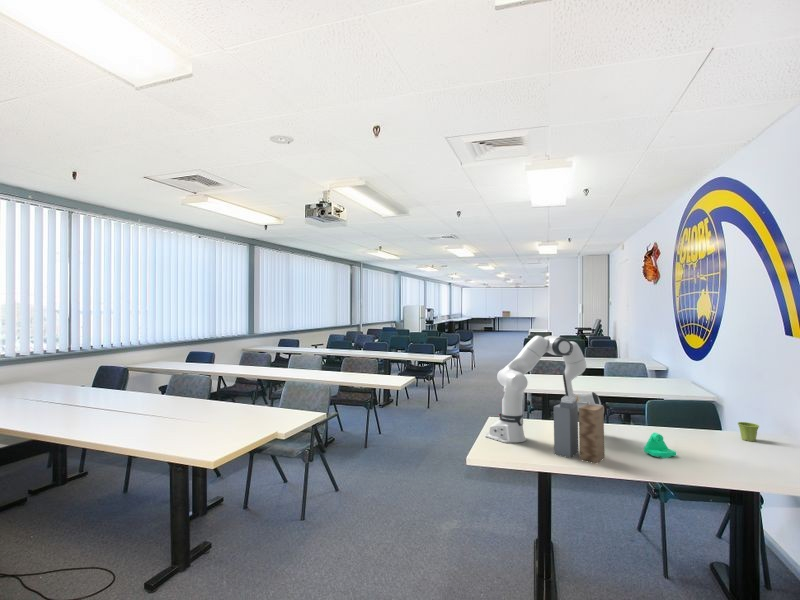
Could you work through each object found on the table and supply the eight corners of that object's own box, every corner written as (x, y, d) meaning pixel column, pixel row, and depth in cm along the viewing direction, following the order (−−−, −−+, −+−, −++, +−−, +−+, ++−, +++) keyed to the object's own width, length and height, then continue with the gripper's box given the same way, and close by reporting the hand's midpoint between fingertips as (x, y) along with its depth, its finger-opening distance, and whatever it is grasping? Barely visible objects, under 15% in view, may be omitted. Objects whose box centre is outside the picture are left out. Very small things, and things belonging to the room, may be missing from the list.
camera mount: (654, 458, 206) (654, 437, 206) (644, 453, 214) (643, 433, 214) (677, 457, 207) (676, 436, 208) (666, 452, 215) (665, 432, 215)
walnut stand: (579, 460, 205) (578, 408, 205) (587, 454, 213) (586, 404, 213) (597, 463, 199) (596, 410, 200) (604, 457, 207) (603, 406, 208)
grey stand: (554, 454, 213) (553, 406, 214) (562, 448, 221) (562, 402, 222) (570, 457, 208) (569, 408, 208) (578, 452, 216) (577, 405, 216)
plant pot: (753, 438, 237) (753, 422, 238) (763, 443, 228) (763, 427, 228) (734, 437, 240) (734, 421, 240) (743, 442, 231) (743, 426, 231)
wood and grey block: (560, 407, 211) (559, 398, 212) (569, 400, 227) (569, 392, 228) (572, 408, 208) (572, 399, 208) (581, 401, 224) (581, 393, 224)
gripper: (569, 402, 245) (561, 394, 237) (607, 407, 232) (599, 398, 223) (567, 413, 243) (559, 405, 234) (605, 419, 229) (597, 410, 221)
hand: (579, 402), depth 229 cm, fingers open, 8 cm apart
